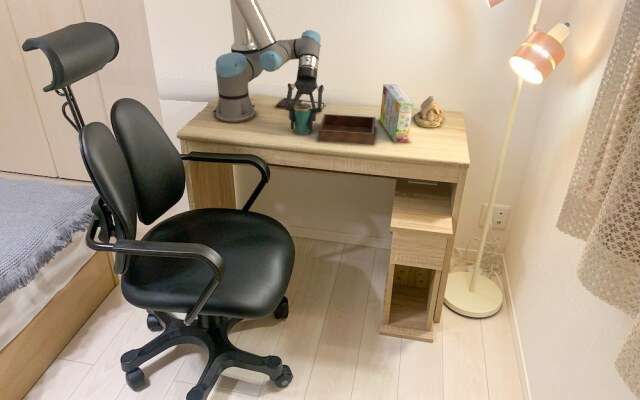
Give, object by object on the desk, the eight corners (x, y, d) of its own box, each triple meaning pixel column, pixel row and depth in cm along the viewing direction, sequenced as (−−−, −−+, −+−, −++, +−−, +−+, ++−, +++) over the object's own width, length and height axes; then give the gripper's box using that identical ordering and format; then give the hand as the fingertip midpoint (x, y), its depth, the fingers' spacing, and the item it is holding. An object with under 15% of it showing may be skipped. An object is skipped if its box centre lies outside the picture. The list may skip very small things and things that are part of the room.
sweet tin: (292, 134, 178) (292, 109, 172) (295, 127, 183) (295, 102, 178) (309, 135, 177) (309, 110, 172) (312, 128, 182) (312, 103, 177)
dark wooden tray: (318, 141, 173) (318, 130, 170) (323, 124, 186) (324, 113, 183) (372, 145, 171) (373, 134, 168) (374, 127, 184) (375, 117, 181)
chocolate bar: (284, 97, 207) (323, 102, 202) (284, 99, 207) (323, 105, 203) (276, 104, 199) (317, 110, 195) (276, 107, 200) (317, 112, 195)
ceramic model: (414, 113, 197) (417, 89, 191) (442, 115, 195) (445, 91, 190) (414, 127, 185) (418, 102, 179) (444, 129, 183) (448, 104, 178)
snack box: (409, 142, 173) (414, 102, 165) (394, 143, 172) (398, 103, 164) (392, 119, 191) (396, 82, 183) (378, 120, 190) (381, 83, 182)
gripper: (281, 64, 178) (273, 122, 173) (332, 67, 176) (326, 125, 171) (284, 74, 185) (277, 130, 180) (333, 76, 183) (327, 133, 178)
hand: (301, 128), depth 175 cm, fingers closed on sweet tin, 6 cm apart
